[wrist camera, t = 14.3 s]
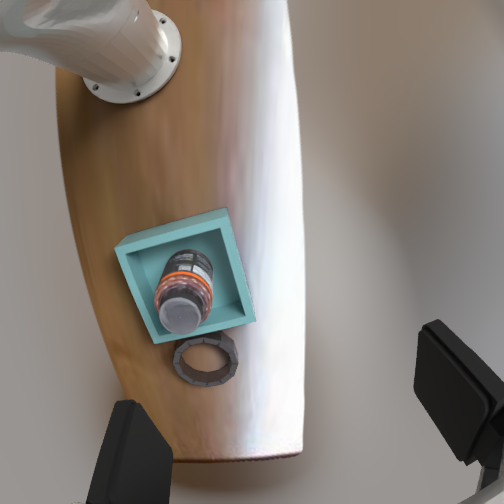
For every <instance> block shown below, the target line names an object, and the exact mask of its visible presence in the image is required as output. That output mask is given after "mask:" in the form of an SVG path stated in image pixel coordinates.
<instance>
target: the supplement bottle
mask: <svg viewBox="0 0 504 504" xmlns="http://www.w3.org/2000/svg"><path fill="white" fill-rule="evenodd" d="M212 300H213V267H212V264H211V262H210V260H209V259H208V258H207V257H206V256H205V255H204V254H203V253H201V252H199V251H196V250H192V249H185V250H181V251H178V252H176V253H175V254H173V255H172V256H171V257H170V259H169V260H168V262H167V264H166V266H165V268H164V271H163V273H162V276H161V278H160V280H159V283H158V285H157V288H156V291H155V294H154V305H155V308H156V311H157V313H158V314H159V319H160V322H161V324H162V325H163V326H164V327H165V328H166V329H167V330H168V331H170V332H172V333H174V334H179V335H185V334H189V333H191V332H193V331H195V330H196V329H197V328H198V326H199V325H200V324H201V323H203V322H204V321H205V320H206V318H207V317H208V316H209V314H210V311H211V308H212Z"/></svg>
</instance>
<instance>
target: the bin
mask: <svg viewBox="0 0 504 504" xmlns="http://www.w3.org/2000/svg"><path fill="white" fill-rule="evenodd" d="M114 249H115V252H116V255H117V257H118V260H119V263H120V265H121V268H122V270H123V273H124V275H125V278H126V280H127V283H128V285H129V288H130V290H131V292H132V295H133V297H134V300H135V302H136V304H137V307H138V309H139V311H140V313H141V316H142V318H143V320H144V322H145V325H146V327H147V329H148V331H149V333H150V335H151V338H152V340H153V342H154V344H157V343H162V342H167V341H172V340H177V339H181V338H186V337H191V336H195V335H200V334H204V333H209V332H213V331H218V330H222V329H226V328H230V327H235V326H239V325H243V324H247V323H251V322H255V321H256V318H255V312H254V307H253V301H252V298H251V294H250V291H249V287H248V283H247V280H246V276H245V273H244V269H243V265H242V262H241V258H240V254H239V251H238V247H237V243H236V240H235V236H234V232H233V229H232V225H231V221H230V218H229V214H228V210H227V207H224V208H221V209H217V210H213V211H209V212H206V213H202V214H198V215H195V216H191V217H187V218H184V219H180V220H177V221H173V222H170V223H166V224H163V225H159V226H156V227H153V228H149V229H146V230H142V231H139V232H136V233H132V234H129V235H126V236H125V237H124V238H123V239H122V240H121V241H120V242H119V244H118V245H117V246H116V247H115V248H114ZM185 249H192V250H196V251H199V252H201V253H203V254H204V255H205V256H206V257H207V258H208V259H209V260H210V262H211V264H212V267H213V300H212V308H211V311H210V314H209V316H208V317H207V318H206V320H205V321H204V322H203V323H201V324H200V325H199V326H198V328H197V329H196V330H195V331H193V332H191V333H189V334H185V335H179V334H174V333H172V332H170V331H168V330H167V329H166V328H165V327H164V326H163V325H162V324H161V322H160V319H159V314H158V313H157V311H156V308H155V305H154V294H155V291H156V288H157V285H158V283H159V280H160V278H161V276H162V273H163V271H164V268H165V266H166V264H167V262H168V260H169V259H170V257H171V256H172V255H173V254H175V253H176V252H178V251H181V250H185Z"/></svg>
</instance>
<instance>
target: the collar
mask: <svg viewBox="0 0 504 504" xmlns="http://www.w3.org/2000/svg"><path fill="white" fill-rule="evenodd" d="M203 342H204V343H209V344H214V345H218V346H219V347H221V348H222V349H223V350H225V351H226V352H227V353H229V356H230V360H229V363H228V364H226V365H225V366H224V367H223V368H221V369H220V370H216V371H211V372H203V371H198V370H194V369H193V368H192V367H190V366H189V365H187V364H186V363H185V362H184V360H183V357H182V355H181V353H182V352H183V351H184V350H185V349H186V348H187V347H189V346H190V345H194V344H199V343H203ZM173 365H174V367H175V369H176V371H177V373H178V375H179V376H180V377H182V378H183V379H185V380H186V381H188V382H189V383H191V384H193V385H198V386H204V387H211V386H216V385H221V384H224V383H225V382H226V381H228V380H229V379H230V378H232V377H233V376H234V374H235V372H236V369H237V366H238V354H237V350H236V347H235V344H234V341H233V340H232V339H231V338H230V337H228V336H227V335H226V334H224V333H223V332H222V331H220V330H218V331H213V332H209V333H204V334H200V335H195V336H191V337H186V338H181V339H178V340H177V345H176V350H175V355H174V360H173Z"/></svg>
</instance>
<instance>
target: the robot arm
mask: <svg viewBox="0 0 504 504" xmlns="http://www.w3.org/2000/svg"><path fill="white" fill-rule="evenodd" d="M163 22H165V23H164V24H162V23H163ZM0 52H12V53H18V54H22V55H25V56H29V57H32V58H35V59H38V60H41V61H44V62H46V63H49V64H52V65H54V66H57V67H59V68H62V69H65V70H67V71H70V72H72V73H75V74H77V75H80V76H82V77H83V80H84V82H85V84H86V86H87V88H88V89H89V90H90V91H91V92H92V93H93V94H94V95H95V96H97V97H98V98H100V99H102V100H105V101H108V102H111V103H118V104H127V103H134V102H137V101H140V100H143V99H145V98H147V97H149V96H151V95H153V94H154V93H156V92H157V91H159V90H160V89H161V88H162V87H163V86H164V85H165V84H166V83H167V82H168V81H169V80H170V79H171V77H172V76H173V75H174V73H175V71H176V69H177V67H178V65H179V62H180V58H181V53H182V42H181V37H180V34H179V31H178V29H177V27H176V26H175V24H174V23H173V22H172V21H171V19H170V18H168V17H167V16H166V15H164V14H163V13H160V12H158V11H156V10H151V8H150V7H149V5H148V3H147V1H146V0H0ZM173 59H174V60H175V61H174V62H173V63H171V60H173ZM97 87H99V89H98V90H97ZM138 93H141V94H140V96H137V94H138ZM414 392H415V394H416V396H417V397H418V399H419V400H420V402H421V403H422V405H423V406H424V408H425V410H427V412H428V414H429V416H430V417H431V419H432V420H433V421H434V423H435V425H436V426H437V428H438V429H439V431H440V433H441V434H442V436H443V437H444V438H445V440H446V442H447V444H448V445H449V447H450V448H451V450H452V451H453V453H454V455H455V456H456V458H457V459H458V460H459V461H464V463H465V464H466V466H468V465H469V464H471V463H473V462H474V461H476V460H478V461H479V463H480V464H481V466H482V468H481V472H480V477H479V481H478V485H477V489H476V493H475V494H474V495H472V496H471V497H469V498H467V499H466V500H464V501H462V502H461V503H459V504H504V382H503V381H502V380H501V379H500V378H499V377H498V376H497V375H496V374H495V373H494V372H493V371H492V370H491V368H490V367H488V366H487V364H486V363H485V362H484V361H483V360H482V359H481V358H480V357H479V356H478V355H477V354H476V353H475V352H474V351H473V350H472V349H470V348H469V347H468V346H467V345H466V344H465V343H464V342H462V340H461V339H459V337H458V336H456V335H455V334H454V333H453V332H452V331H451V330H450V329H449V328H448V327H447V326H446V325H445V324H444V323H443V322H442V321H441V320H439V319H437V320H434V321H432V322H430V323H427V324H425V325H423V327H422V330H421V331H420V332H419V334H418V347H417V358H416V368H415V378H414ZM172 464H173V452H172V449H171V447H170V446H169V444H168V443H167V442H166V440H165V439H164V438H163V436H162V435H161V433H160V432H159V431H158V429H157V428H156V426H155V425H154V423H153V422H152V420H151V419H150V418H149V416H148V415H147V413H146V412H145V410H144V409H143V407H142V405H141V404H140V403H136V402H135V401H134V400H123V401H117V402H116V403H115V405H114V408H113V412H112V414H111V418H110V421H109V424H108V427H107V430H106V433H105V437H104V440H103V443H102V446H101V449H100V453H99V456H98V459H97V463H96V467H95V470H94V474H93V477H92V481H91V485H90V489H89V492H88V496H87V500H86V504H169V497H170V485H171V473H172ZM72 504H83V503H72Z"/></svg>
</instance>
